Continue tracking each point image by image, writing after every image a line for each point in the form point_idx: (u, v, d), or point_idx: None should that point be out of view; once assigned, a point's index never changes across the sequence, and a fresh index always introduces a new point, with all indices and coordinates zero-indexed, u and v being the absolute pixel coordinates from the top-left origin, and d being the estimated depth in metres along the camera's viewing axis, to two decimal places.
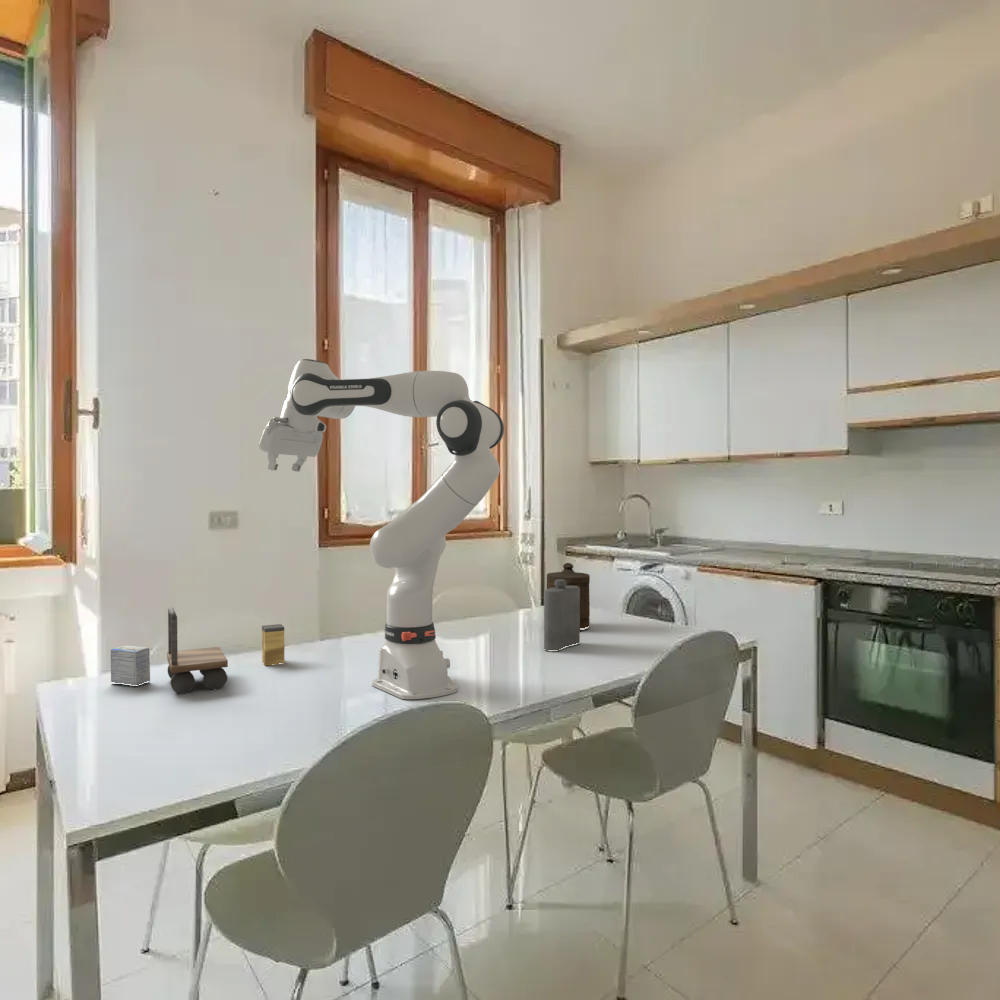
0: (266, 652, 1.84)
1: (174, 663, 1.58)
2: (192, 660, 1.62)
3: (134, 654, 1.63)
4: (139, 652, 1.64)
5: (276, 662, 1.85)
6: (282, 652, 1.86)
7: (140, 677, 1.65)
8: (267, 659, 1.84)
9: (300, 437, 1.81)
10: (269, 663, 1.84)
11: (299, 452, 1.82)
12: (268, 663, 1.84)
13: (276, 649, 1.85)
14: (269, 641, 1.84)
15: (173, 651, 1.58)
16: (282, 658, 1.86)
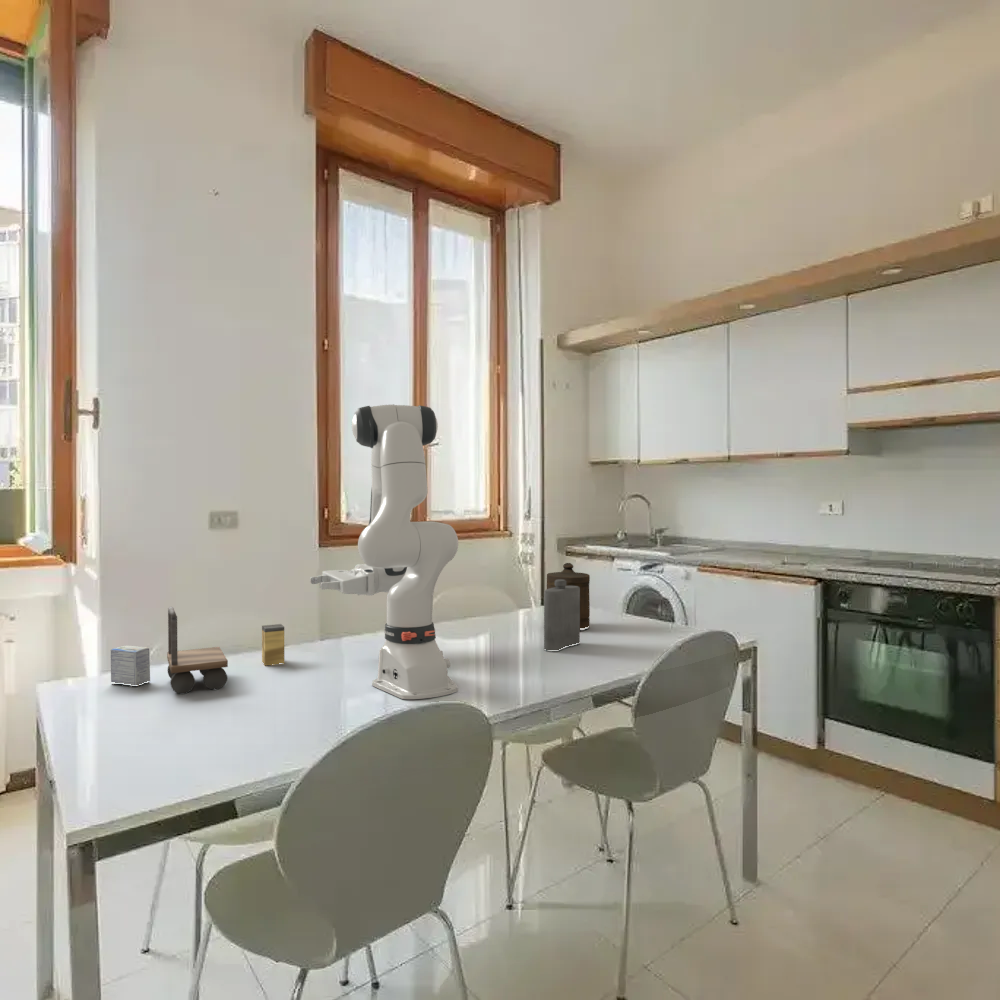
0: (266, 652, 1.84)
1: (174, 663, 1.58)
2: (192, 660, 1.62)
3: (134, 654, 1.63)
4: (139, 652, 1.64)
5: (276, 662, 1.85)
6: (282, 652, 1.86)
7: (140, 677, 1.65)
8: (267, 659, 1.84)
9: (350, 575, 1.96)
10: (269, 663, 1.84)
11: (337, 576, 1.93)
12: (268, 663, 1.84)
13: (276, 649, 1.85)
14: (269, 641, 1.84)
15: (173, 651, 1.58)
16: (282, 658, 1.86)
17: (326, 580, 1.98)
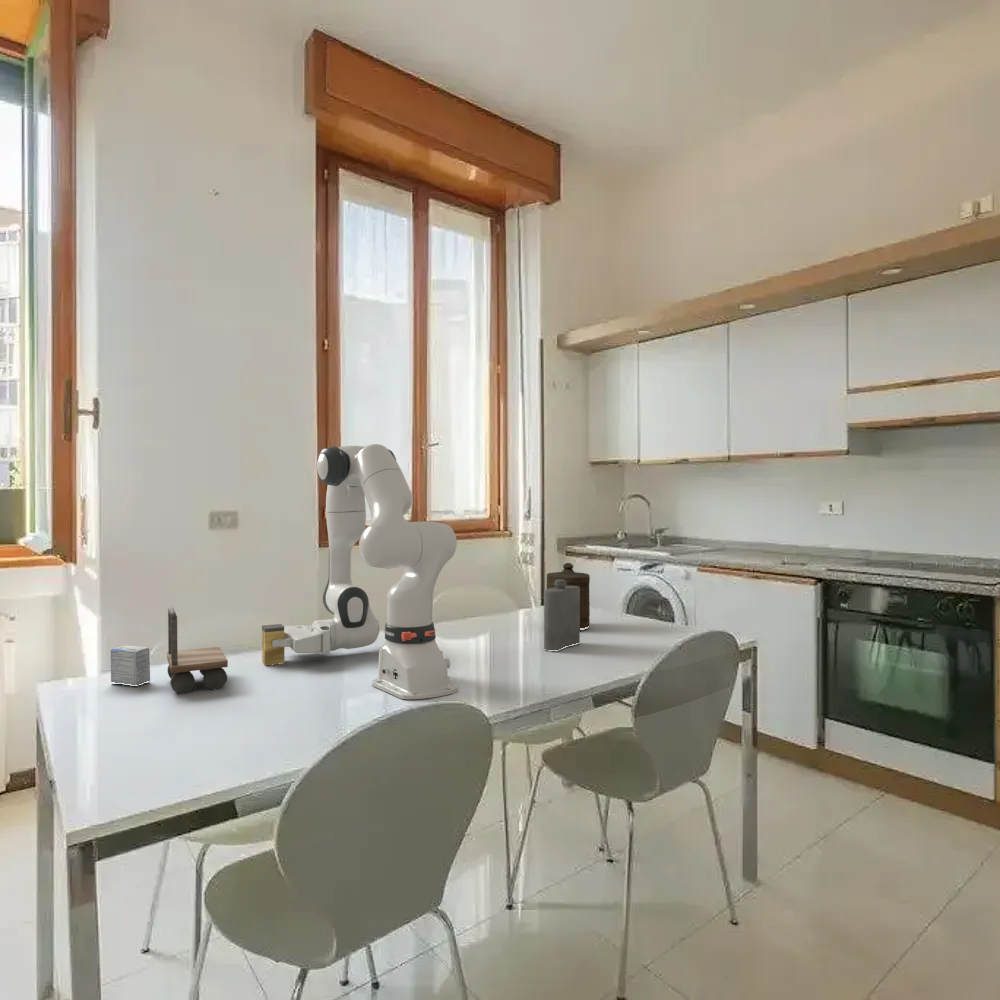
0: (266, 652, 1.84)
1: (174, 663, 1.58)
2: (192, 660, 1.62)
3: (134, 654, 1.63)
4: (139, 652, 1.64)
5: (276, 662, 1.85)
6: (282, 652, 1.86)
7: (140, 677, 1.65)
8: (267, 659, 1.84)
9: (306, 632, 1.90)
10: (269, 663, 1.84)
11: (292, 633, 1.87)
12: (268, 663, 1.84)
13: (276, 649, 1.85)
14: (269, 641, 1.84)
15: (173, 651, 1.58)
16: (282, 658, 1.86)
17: (284, 638, 1.91)
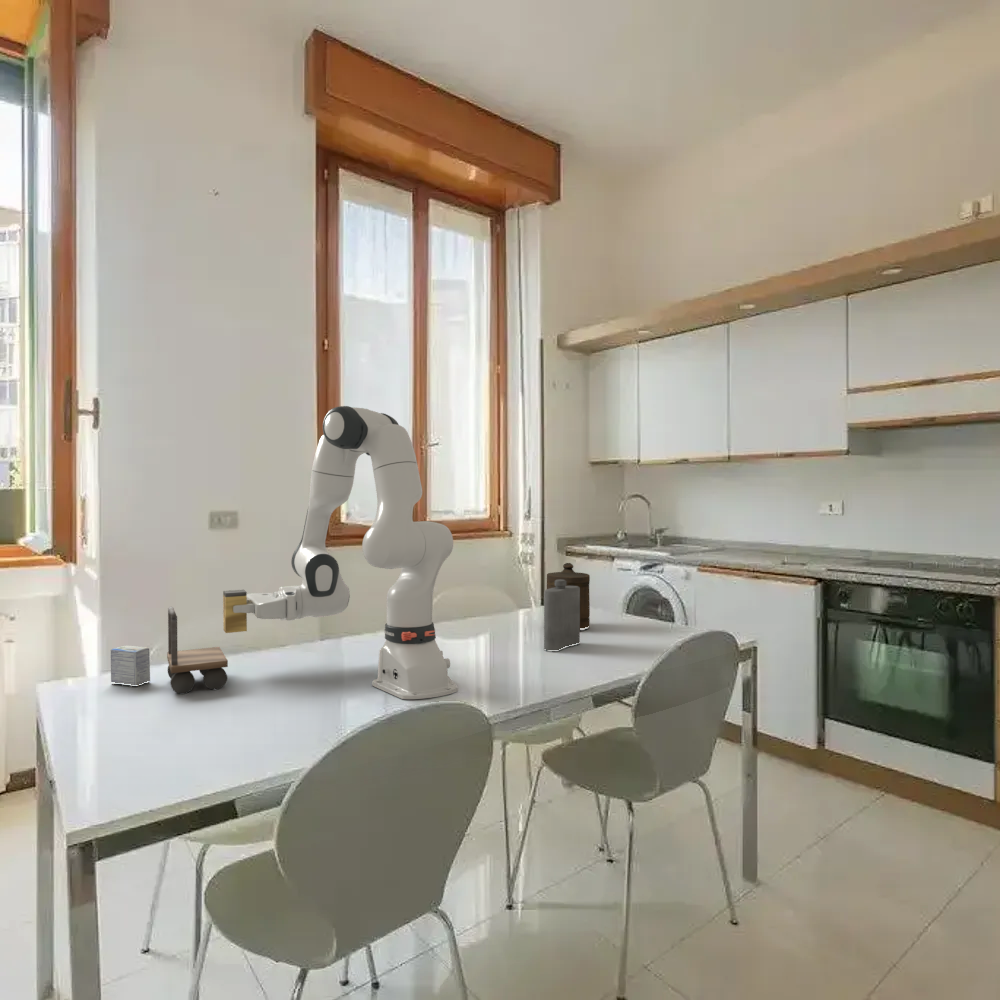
0: (227, 618, 1.73)
1: (174, 663, 1.58)
2: (192, 660, 1.62)
3: (134, 654, 1.63)
4: (139, 652, 1.64)
5: (238, 629, 1.74)
6: (244, 619, 1.75)
7: (140, 677, 1.65)
8: (227, 626, 1.73)
9: (271, 598, 1.79)
10: (230, 630, 1.74)
11: (255, 599, 1.77)
12: (229, 630, 1.73)
13: (238, 615, 1.74)
14: (230, 606, 1.74)
15: (173, 651, 1.58)
16: (244, 625, 1.75)
17: None
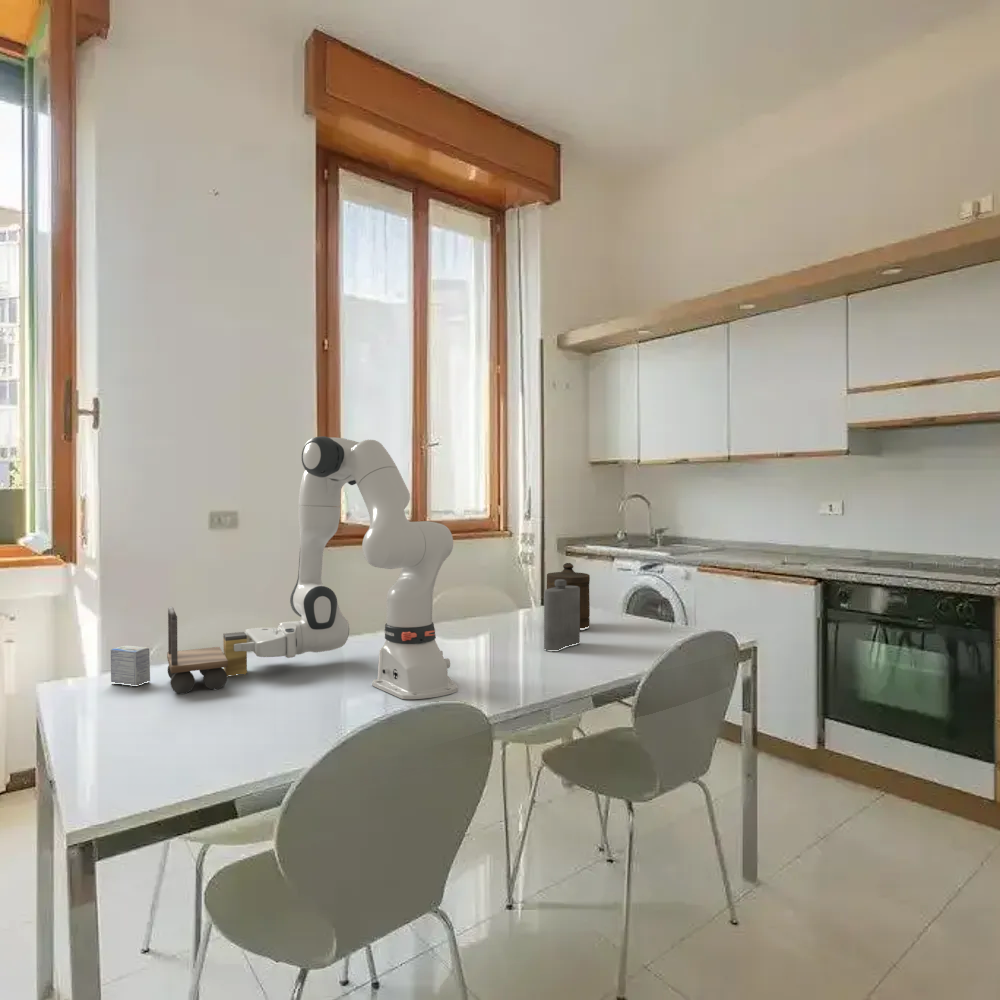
0: None
1: (174, 663, 1.58)
2: (192, 660, 1.62)
3: (134, 654, 1.63)
4: (139, 652, 1.64)
5: (238, 672, 1.75)
6: (244, 662, 1.75)
7: (140, 677, 1.65)
8: (228, 669, 1.73)
9: (271, 635, 1.80)
10: (230, 673, 1.74)
11: (255, 636, 1.77)
12: (229, 673, 1.74)
13: (238, 659, 1.75)
14: (231, 650, 1.74)
15: (173, 651, 1.58)
16: (244, 668, 1.75)
17: (247, 640, 1.82)
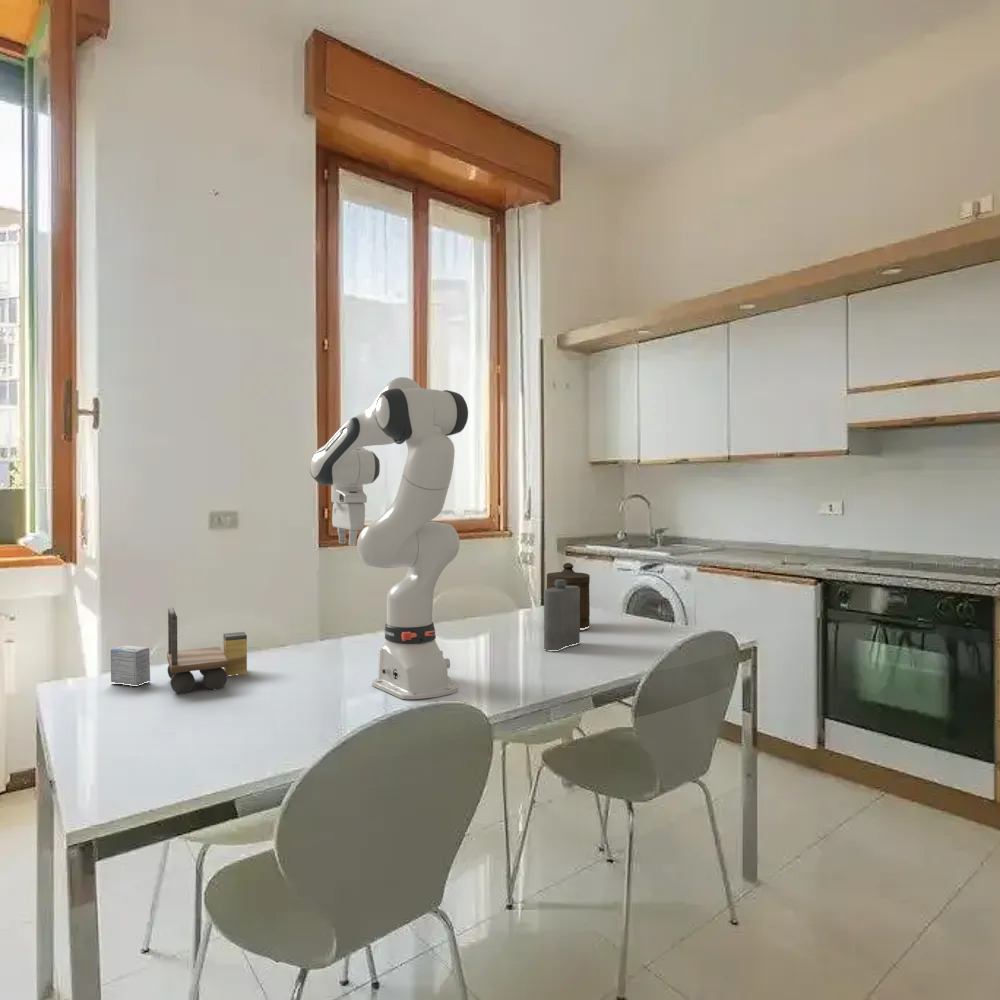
0: None
1: (174, 663, 1.58)
2: (192, 660, 1.62)
3: (134, 654, 1.63)
4: (139, 652, 1.64)
5: (238, 672, 1.75)
6: (244, 662, 1.75)
7: (140, 677, 1.65)
8: (228, 669, 1.73)
9: (342, 511, 1.96)
10: (230, 673, 1.74)
11: (342, 525, 1.95)
12: (229, 673, 1.74)
13: (238, 659, 1.75)
14: (231, 650, 1.74)
15: (173, 651, 1.58)
16: (244, 668, 1.75)
17: None
